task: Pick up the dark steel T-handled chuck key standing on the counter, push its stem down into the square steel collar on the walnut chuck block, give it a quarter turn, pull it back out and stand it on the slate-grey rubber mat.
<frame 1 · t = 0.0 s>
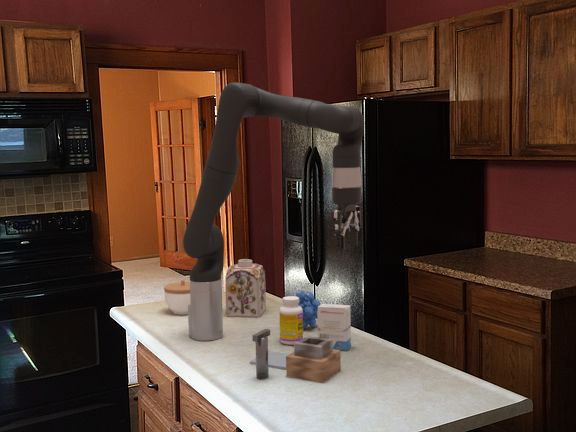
hand: (347, 247, 171), 29 cm above the worktop, tool pointing down, fingers open, 8 cm apart
ink box: (334, 347, 183), on the worktop
chuck block: (313, 372, 163), on the worktop
lidded bowl: (183, 312, 224), on the worktop
decorative jar: (246, 313, 222), on the worktop
grapes: (306, 330, 201), on the worktop
chuck key: (262, 377, 161), on the worktop
mat: (279, 361, 172), on the worktop
supplement bottle: (291, 342, 189), on the worktop
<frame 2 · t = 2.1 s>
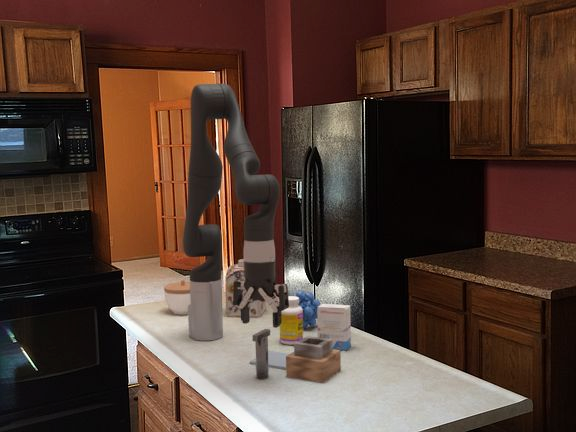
hand: (261, 324, 159), 13 cm above the worktop, tool pointing down, fingers open, 8 cm apart
nothing on the worktop moved.
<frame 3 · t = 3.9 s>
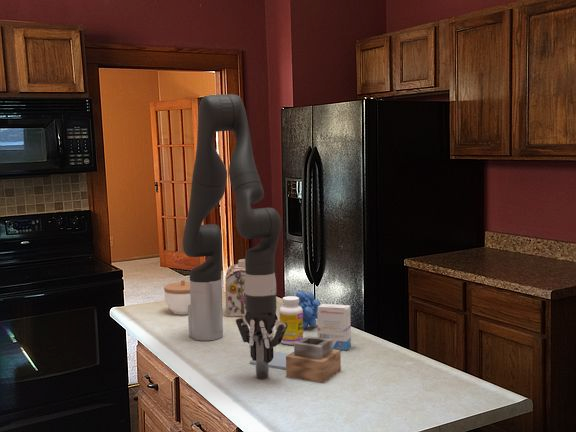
hand: (262, 360, 160), 4 cm above the worktop, tool pointing down, fingers closed on chuck key, 3 cm apart
chuck key: (262, 377, 161), on the worktop, touching gripper
everything else where it was.
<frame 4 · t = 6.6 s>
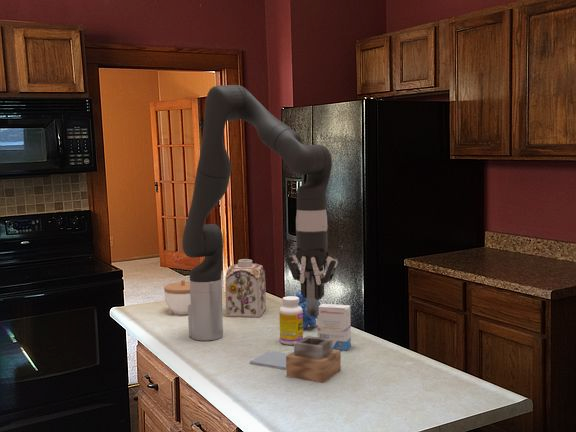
hand: (312, 298, 161), 19 cm above the worktop, tool pointing down, fingers closed on chuck key, 3 cm apart
chuck key: (312, 314, 161), point 15 cm above the worktop, touching gripper
everything else where it was.
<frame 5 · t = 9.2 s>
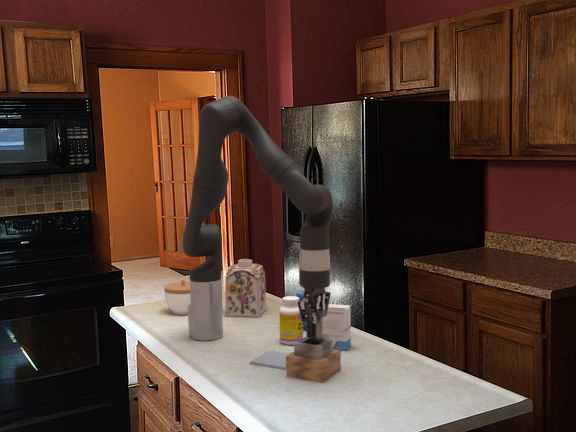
hand: (314, 335, 163), 9 cm above the worktop, tool pointing down, fingers closed on chuck key, 3 cm apart
chuck key: (316, 353, 163), point 5 cm above the worktop, touching gripper
everything else where it was.
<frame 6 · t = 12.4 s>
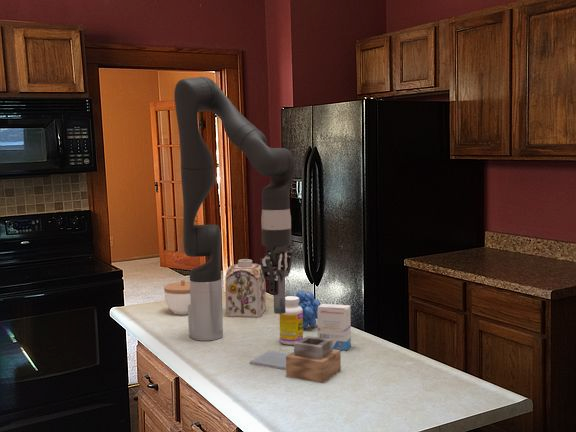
hand: (277, 292, 170), 18 cm above the worktop, tool pointing down, fingers closed on chuck key, 3 cm apart
chuck key: (279, 312, 170), point 13 cm above the worktop, touching gripper
everything else where it was.
when the fingers open (6 cm above the worktop, at t = 14.8 s): chuck key stays where it is, resting on mat.
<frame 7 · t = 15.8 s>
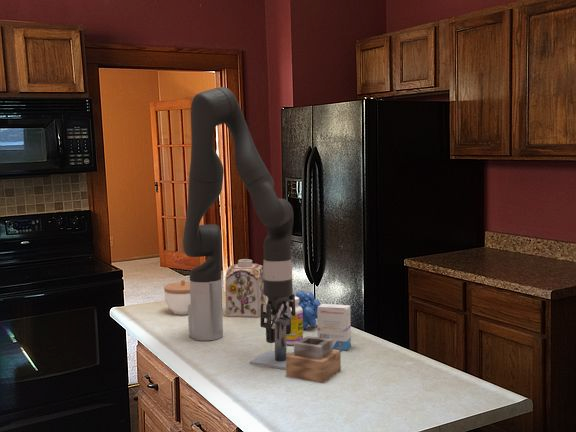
hand: (278, 338, 172), 6 cm above the worktop, tool pointing down, fingers open, 8 cm apart
chuck key: (280, 359, 172), point 1 cm above the worktop, touching mat
everything else where it was.
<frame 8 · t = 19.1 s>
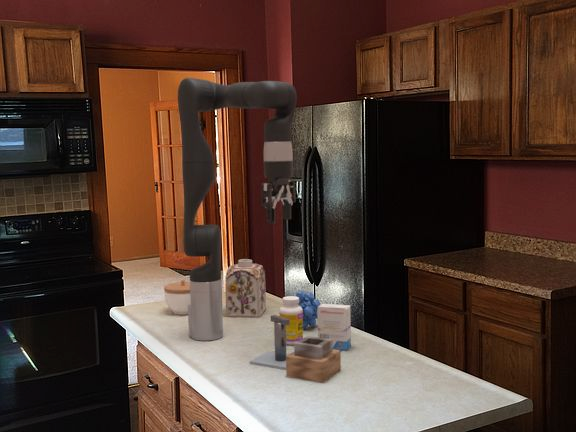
hand: (279, 221, 173), 36 cm above the worktop, tool pointing down, fingers open, 8 cm apart
nothing on the worktop moved.
at the end: chuck key inside the target area on the mat (0.6 cm from its centre), point 0.6 cm above the mat's base; chuck key touching mat; the gripper is holding nothing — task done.
